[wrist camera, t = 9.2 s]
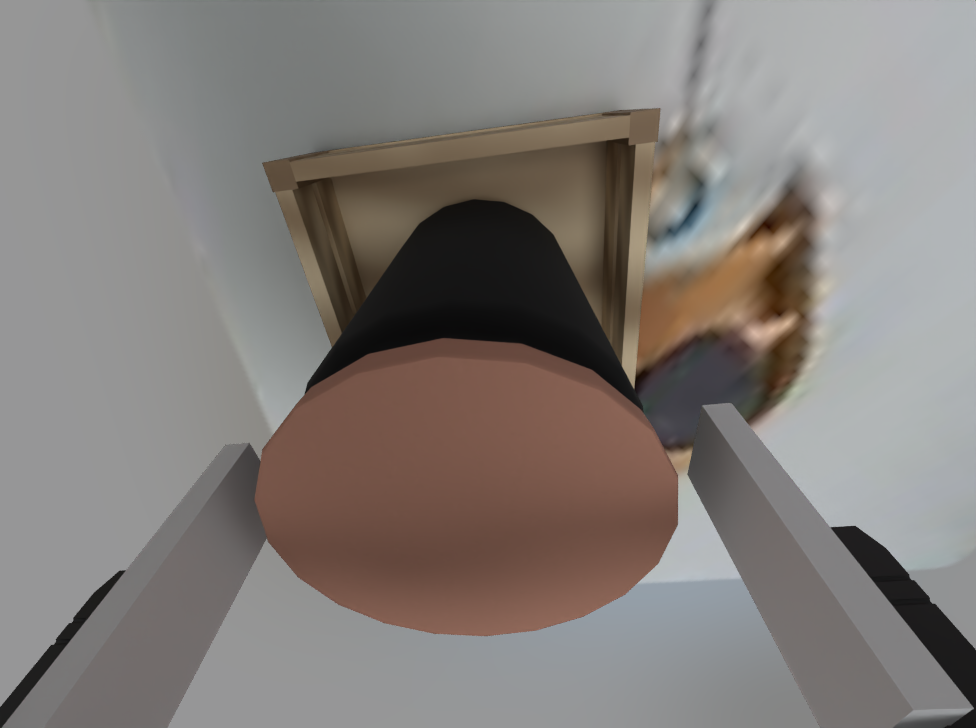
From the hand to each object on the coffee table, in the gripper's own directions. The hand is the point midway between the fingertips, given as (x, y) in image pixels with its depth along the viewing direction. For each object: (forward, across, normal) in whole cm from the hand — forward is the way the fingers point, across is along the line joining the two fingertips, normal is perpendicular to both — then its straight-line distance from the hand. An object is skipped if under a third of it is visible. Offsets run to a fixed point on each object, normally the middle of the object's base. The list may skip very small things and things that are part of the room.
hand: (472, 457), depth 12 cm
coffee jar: (+16, 0, -1) cm, 16 cm away
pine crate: (+17, 0, -1) cm, 17 cm away
